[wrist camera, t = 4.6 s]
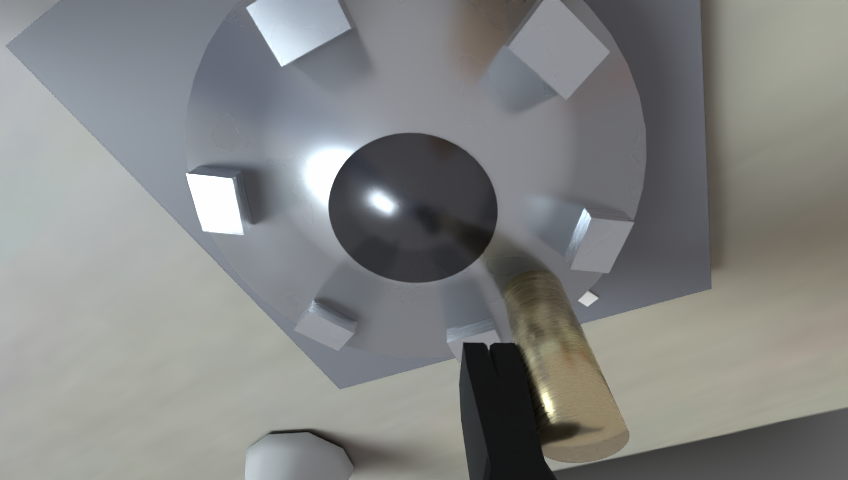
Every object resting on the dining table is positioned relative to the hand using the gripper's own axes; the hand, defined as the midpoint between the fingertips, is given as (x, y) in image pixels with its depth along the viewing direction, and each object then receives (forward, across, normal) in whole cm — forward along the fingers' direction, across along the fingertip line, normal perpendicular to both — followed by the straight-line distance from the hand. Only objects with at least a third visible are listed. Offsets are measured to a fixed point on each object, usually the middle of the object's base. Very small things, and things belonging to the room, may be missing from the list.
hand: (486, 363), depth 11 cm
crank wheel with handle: (+4, +2, -4) cm, 6 cm away
